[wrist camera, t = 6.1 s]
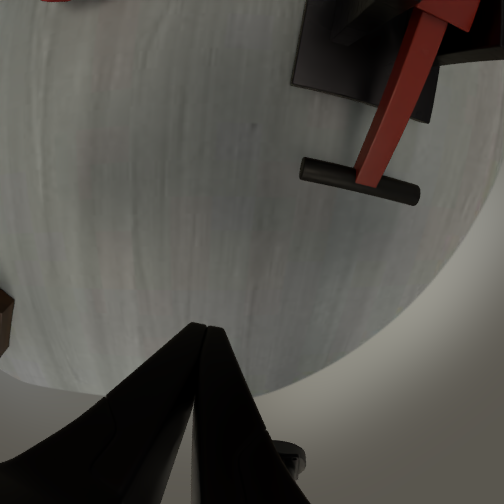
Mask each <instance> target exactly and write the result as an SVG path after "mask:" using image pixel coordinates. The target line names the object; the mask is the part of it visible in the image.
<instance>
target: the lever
mask: <svg viewBox="0 0 504 504" xmlns="http://www.w3.org/2000/svg"><path fill="white" fill-rule="evenodd" d="M480 1H481V0H421V2H420V3H418V4H417V5H415V6H414V8H413V11H412V14H411V17H410V20H409V23H408V26H407V29H406V32H405V35H404V38H403V41H402V44H401V46H400V49H399V52H398V55H397V58H396V60H395V63H394V66H393V69H392V71H391V74H390V77H389V80H388V82H387V85H386V88H385V90H384V93H383V95H382V98H381V101H380V103H379V106H378V108H377V111H376V114H375V116H374V119H373V121H372V124H371V126H370V129H369V131H368V134H367V136H366V138H365V141H364V143H363V146H362V148H361V151H360V153H359V155H358V158H357V160H356V163H355V165H354V167H353V168H352V167H348V166H344V165H340V164H335V163H331V162H327V161H322V160H318V159H313V158H308V157H303V159H302V162H301V166H300V172H299V178H300V180H304V181H309V182H314V183H319V184H324V185H328V186H333V187H337V188H342V189H346V190H351V191H355V192H359V193H364V194H368V195H372V196H376V197H380V198H384V199H388V200H392V201H396V202H400V203H404V204H407V205H411V206H415V205H416V204H417V203H418V201H419V199H420V188H419V186H418V185H415V184H412V183H408V182H405V181H401V180H398V179H394V178H391V177H387V176H383V173H384V171H385V169H386V167H387V165H388V163H389V161H390V159H391V157H392V155H393V152H394V150H395V148H396V146H397V144H398V142H399V140H400V138H401V136H402V133H403V131H404V129H405V127H406V125H407V123H408V120H409V118H410V116H411V114H412V112H413V109H414V107H415V105H416V102H417V100H418V98H419V96H420V93H421V91H422V89H423V86H424V84H425V81H426V79H427V77H428V74H429V72H430V69H431V67H432V64H433V62H434V59H435V57H436V54H437V52H438V49H439V47H440V44H441V41H442V39H443V36H444V33H445V31H446V28H447V25H448V23H450V24H452V25H454V26H456V27H457V28H459V29H461V30H463V31H465V32H469V31H470V29H471V26H472V23H473V20H474V18H475V15H476V12H477V9H478V6H479V3H480Z"/></svg>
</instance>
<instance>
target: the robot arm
mask: <svg viewBox="0 0 504 504" xmlns="http://www.w3.org/2000/svg"><path fill="white" fill-rule="evenodd" d="M193 404H194V409H193V431H192V466H191V469H192V470H191V504H310V502H309V501H308V500H307V498H306V497H305V495H304V494H303V492H302V491H301V489H300V488H299V487H298V485H297V484H296V482H295V480H297V479H298V472H299V461H300V456H299V454H278V452H277V450H276V448H275V446H274V444H273V442H272V439H271V437H270V435H269V433H268V431H267V430H266V427H265V424H264V422H263V420H262V418H261V415H260V413H259V411H258V409H257V406H256V404H255V402H254V399H253V397H252V395H251V392H250V390H249V388H248V385H247V383H246V381H245V378H244V376H243V374H242V371H241V369H240V367H239V364H238V362H237V359H236V357H235V354H234V352H233V350H232V347H231V345H230V342H229V340H228V337H227V335H226V332H225V330H224V329H223V328H221V327H215V326H208V327H207V326H206V325H205V324H200V323H195V322H191V323H189V324H188V325H187V326H186V327H185V328H183V329H182V330H181V331H180V332H179V333H178V334H177V335H175V336H174V337H173V338H172V339H171V340H170V341H169V342H167V343H166V344H165V345H164V346H163V347H162V348H160V349H159V350H158V351H157V352H156V353H155V354H153V355H152V356H151V357H150V358H149V359H148V360H146V361H145V362H144V363H143V364H142V365H141V366H139V367H138V368H137V369H136V370H135V371H134V372H132V373H131V374H130V375H129V376H128V377H127V378H125V379H124V380H123V381H122V382H121V383H120V384H118V385H117V386H116V387H115V388H114V389H113V390H111V391H110V392H109V393H108V394H107V395H106V397H103V398H102V399H101V400H99V401H98V402H97V403H96V404H95V405H94V406H92V407H91V408H90V409H89V410H87V411H86V412H85V413H83V414H82V415H81V416H80V417H78V418H77V419H76V420H74V421H73V422H71V423H70V424H68V425H67V426H66V427H64V428H62V429H61V430H59V431H58V432H56V433H55V434H53V435H51V436H50V437H48V438H46V439H45V440H43V441H41V442H40V443H38V444H37V445H35V446H33V447H32V448H30V449H29V450H27V451H25V452H23V453H22V454H20V455H18V456H16V457H15V458H13V459H10V460H8V461H5V462H2V463H0V504H160V503H161V500H162V497H163V494H164V491H165V488H166V485H167V482H168V479H169V476H170V473H171V470H172V467H173V464H174V461H175V458H176V455H177V452H178V449H179V446H180V444H181V441H182V438H183V435H184V432H185V429H186V426H187V423H188V420H189V417H190V414H191V411H192V407H193Z"/></svg>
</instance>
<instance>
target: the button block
mask: <svg viewBox="0 0 504 504" xmlns="http://www.w3.org/2000/svg"><path fill="white" fill-rule="evenodd" d="M13 307H14V300H13V299H12V298H11V297H10V296H9V295H7V294H6V293H5V292H4V291H3V290H1V289H0V357H1V356H2V355H3V353H4V352H5V351H6V349H7V348H8V347H9V337H10V329H11V321H12V313H13Z"/></svg>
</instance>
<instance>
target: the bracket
mask: <svg viewBox="0 0 504 504" xmlns="http://www.w3.org/2000/svg"><path fill="white" fill-rule="evenodd" d="M420 2H421V0H306V2H305V7H304V13H303V18H302V24H301V29H300V35H299V40H298V45H297V51H296V56H295V61H294V67H293V72H292V77H291V83H290V85H291V86H295V87H300V88H305V89H309V90H314V91H318V92H322V93H326V94H330V95H334V96H338V97H342V98H346V99H349V100H353V101H357V102H360V103H364V104H367V105H370V106H374V107H377V108H378V106H379V103H380V101H381V98H382V95H383V93H384V90H385V88H386V85H387V82H388V80H389V77H390V74H391V71H392V69H393V66H394V63H395V60H396V58H397V55H398V52H399V49H400V46H401V44H402V41H403V38H404V35H405V32H406V29H407V26H408V23H409V20H410V17H411V14H412V11H413V8H414V6H415V5H417V4H418V3H420ZM491 60H504V0H481V1H480V3H479V6H478V9H477V12H476V15H475V18H474V20H473V23H472V26H471V29H470V31H469V32H465V31H463V30H461V29H459V28H457V27H456V26H454V25H452V24H450V23H448V25H447V28H446V31H445V33H444V36H443V39H442V41H441V44H440V47H439V49H438V52H437V54H436V57H435V59H434V62H433V64H432V67H431V69H430V72H429V74H428V77H427V79H426V81H425V84H424V86H423V89H422V91H421V93H420V96H419V98H418V100H417V102H416V105H415V107H414V109H413V112H412V114H411V116H410V119H413V120H415V121H418V122H422V123H427V124H429V123H430V118H431V113H432V108H433V103H434V98H435V92H436V87H437V81H438V75H439V68H440V66H442V65H450V64H458V63H467V62H478V61H491Z"/></svg>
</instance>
